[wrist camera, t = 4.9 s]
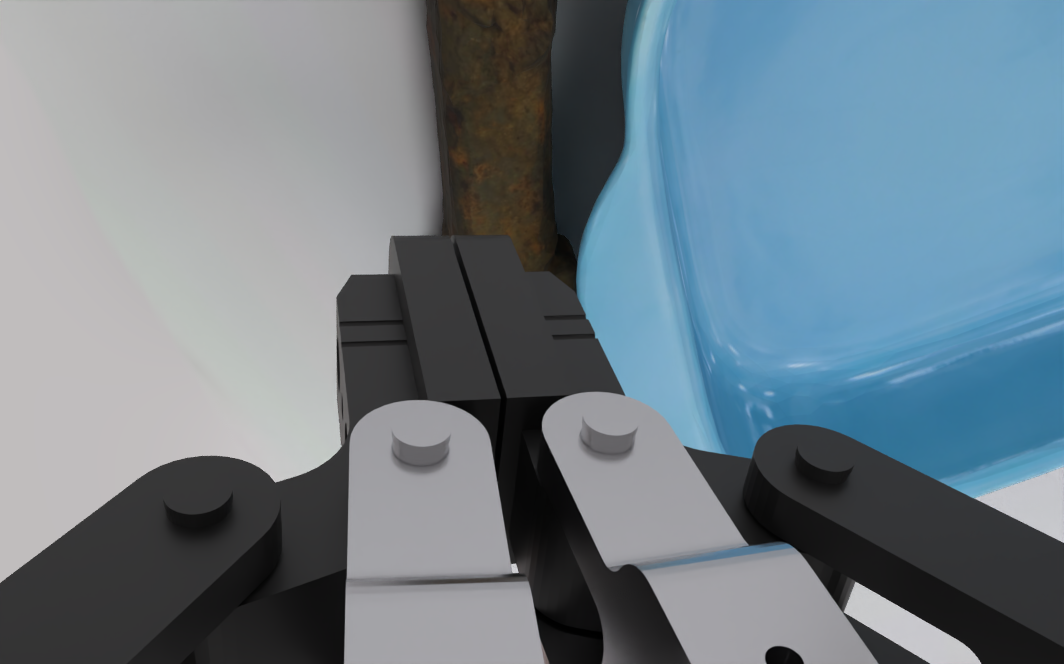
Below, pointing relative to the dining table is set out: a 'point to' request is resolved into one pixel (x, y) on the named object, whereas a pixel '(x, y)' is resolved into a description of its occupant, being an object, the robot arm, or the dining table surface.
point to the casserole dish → (841, 228)
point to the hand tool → (498, 125)
